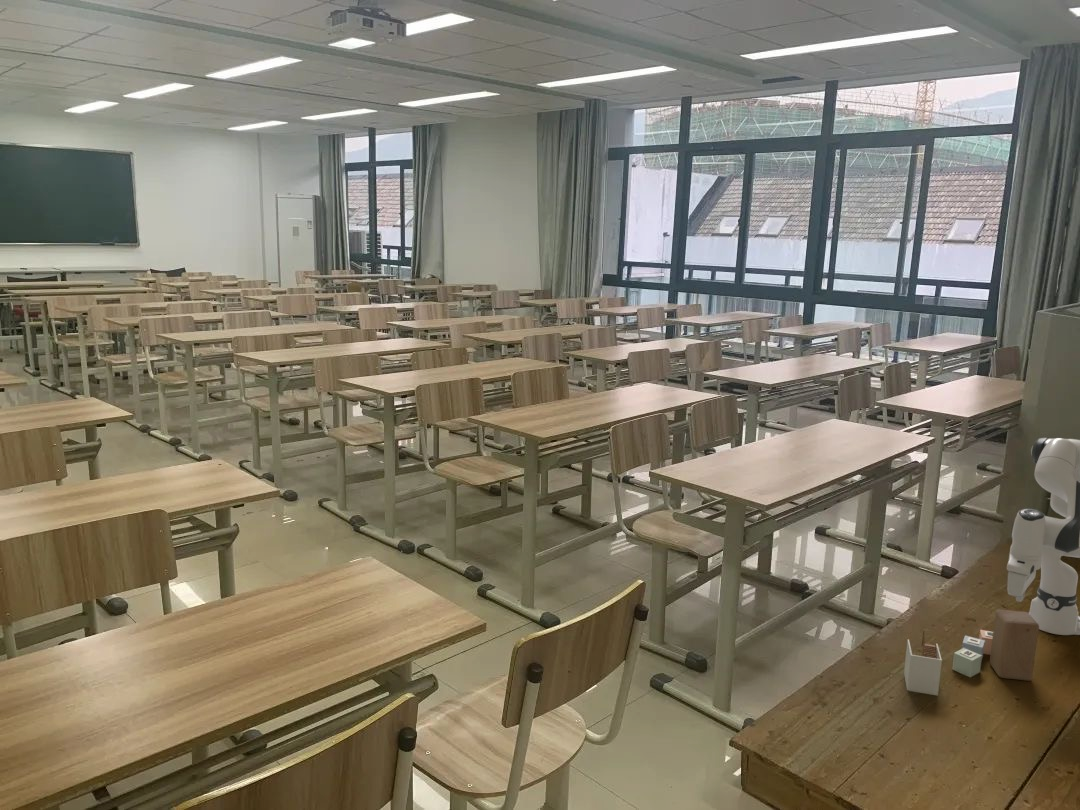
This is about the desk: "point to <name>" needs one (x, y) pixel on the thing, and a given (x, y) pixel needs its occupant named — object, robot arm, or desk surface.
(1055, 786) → the desk surface
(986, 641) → the tile cube terracotta
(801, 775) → the desk surface
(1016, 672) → the wooden block
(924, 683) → the tall white open bin
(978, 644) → the tile cube slate
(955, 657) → the tile cube sage
